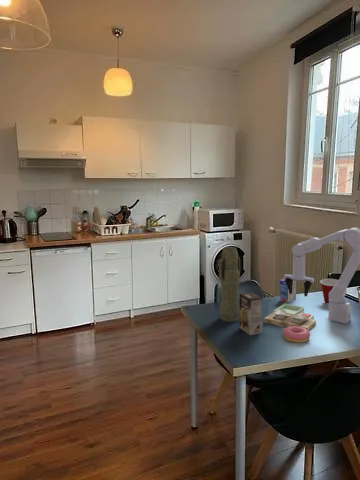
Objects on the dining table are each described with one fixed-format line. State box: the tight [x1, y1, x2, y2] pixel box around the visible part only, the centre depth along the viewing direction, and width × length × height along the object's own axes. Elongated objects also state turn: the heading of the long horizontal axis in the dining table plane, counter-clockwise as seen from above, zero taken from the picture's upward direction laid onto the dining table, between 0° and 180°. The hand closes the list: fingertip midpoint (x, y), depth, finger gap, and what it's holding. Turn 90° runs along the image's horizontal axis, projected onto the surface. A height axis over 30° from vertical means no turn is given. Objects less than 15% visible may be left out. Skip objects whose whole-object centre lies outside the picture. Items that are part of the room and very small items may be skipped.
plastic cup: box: [319, 278, 339, 305], centre depth 195 cm, size 11×11×12 cm
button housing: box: [300, 312, 315, 320], centre depth 172 cm, size 6×6×2 cm
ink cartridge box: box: [279, 278, 297, 304], centre depth 201 cm, size 10×6×14 cm, turn 138°
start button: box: [302, 312, 312, 318], centre depth 172 cm, size 4×4×2 cm
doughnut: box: [282, 326, 311, 344], centre depth 152 cm, size 11×11×4 cm
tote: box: [273, 303, 305, 316], centre depth 181 cm, size 10×13×2 cm
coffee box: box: [239, 292, 263, 336], centre depth 160 cm, size 9×6×16 cm
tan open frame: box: [264, 311, 317, 332], centre depth 167 cm, size 20×11×2 cm, turn 51°
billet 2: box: [293, 314, 307, 325], centre depth 164 cm, size 4×6×5 cm, turn 140°
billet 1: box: [275, 310, 286, 321], centre depth 170 cm, size 4×6×5 cm, turn 155°
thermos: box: [218, 246, 241, 323], centre depth 173 cm, size 9×12×35 cm
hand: (298, 294), depth 181 cm, fingers open, 7 cm apart
